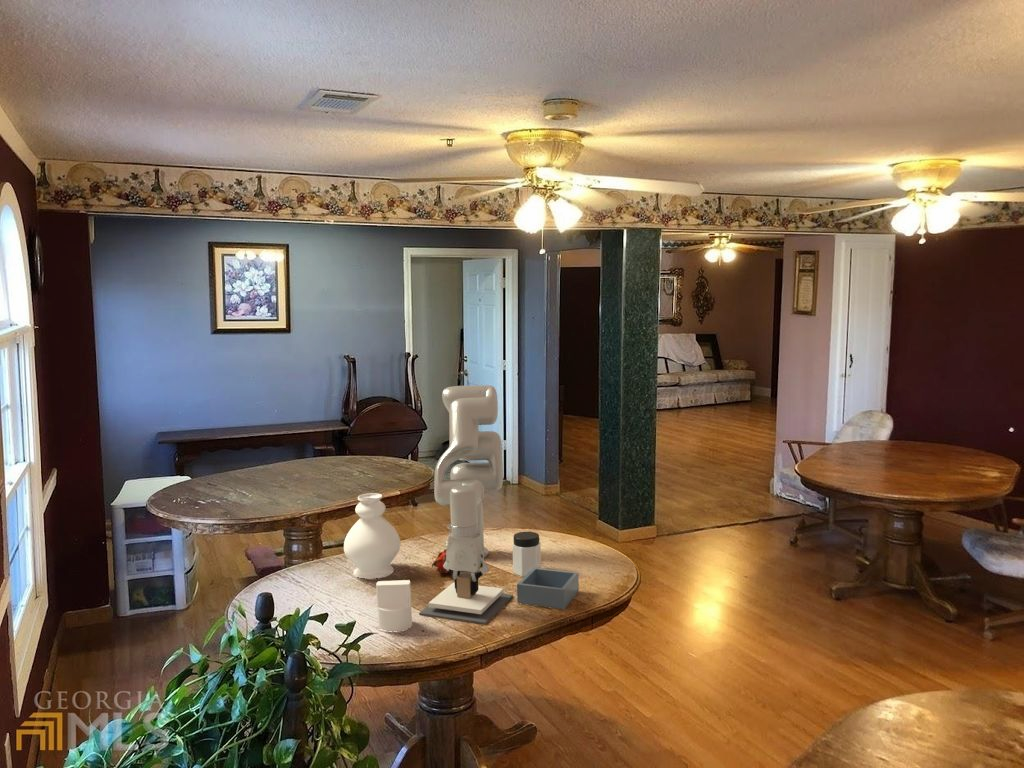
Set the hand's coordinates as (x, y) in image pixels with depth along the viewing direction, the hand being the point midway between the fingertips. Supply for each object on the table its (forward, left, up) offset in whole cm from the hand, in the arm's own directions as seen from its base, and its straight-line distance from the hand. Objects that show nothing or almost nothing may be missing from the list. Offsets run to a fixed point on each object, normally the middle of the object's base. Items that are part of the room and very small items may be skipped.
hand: (466, 591), depth 223 cm
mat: (0, 0, -4) cm, 4 cm away
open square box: (+20, +13, -4) cm, 24 cm away
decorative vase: (-40, +15, -4) cm, 43 cm away
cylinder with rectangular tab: (-13, -18, -4) cm, 23 cm away
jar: (+7, +30, -4) cm, 31 cm away
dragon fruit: (-16, +22, -4) cm, 28 cm away
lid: (0, 0, -2) cm, 2 cm away
